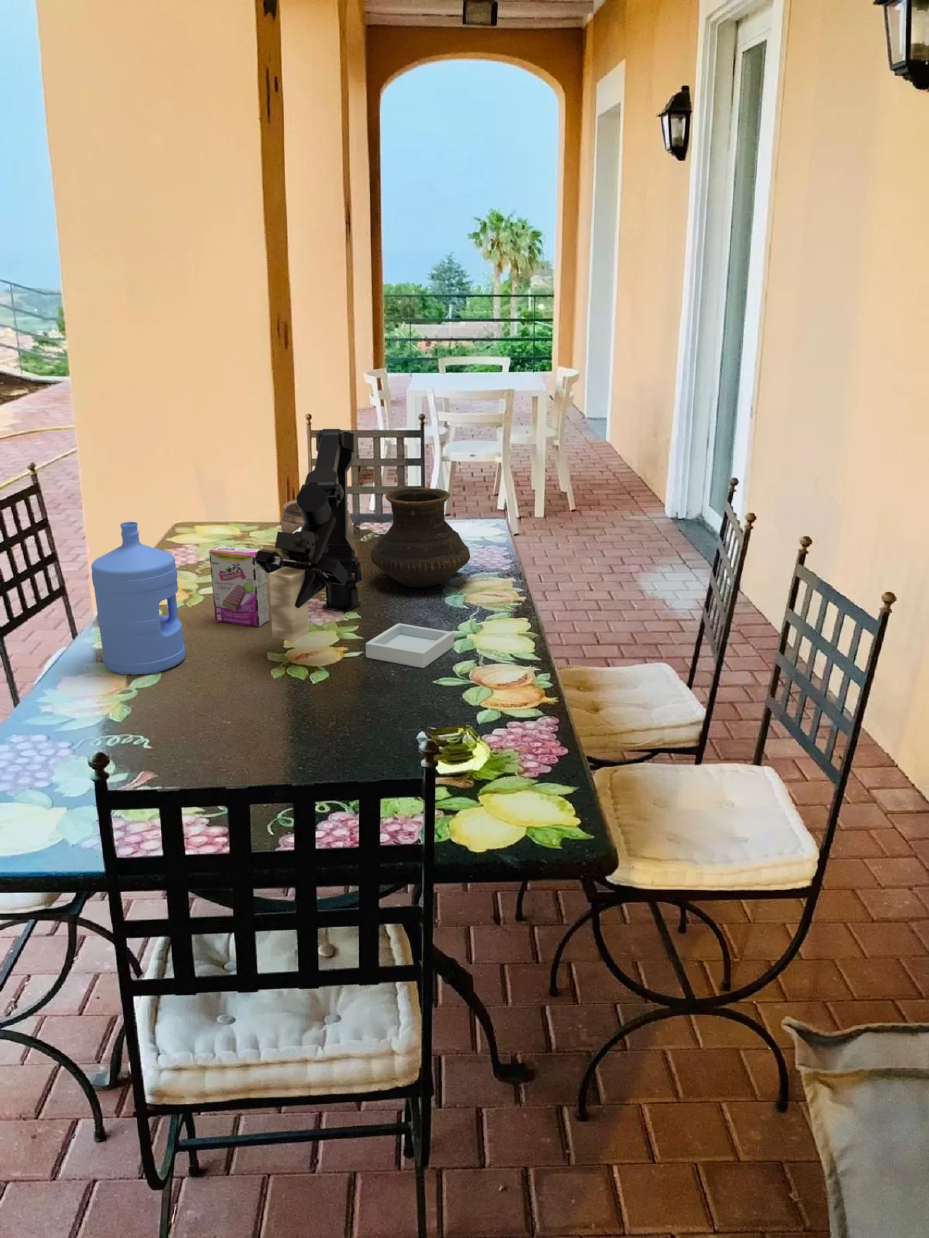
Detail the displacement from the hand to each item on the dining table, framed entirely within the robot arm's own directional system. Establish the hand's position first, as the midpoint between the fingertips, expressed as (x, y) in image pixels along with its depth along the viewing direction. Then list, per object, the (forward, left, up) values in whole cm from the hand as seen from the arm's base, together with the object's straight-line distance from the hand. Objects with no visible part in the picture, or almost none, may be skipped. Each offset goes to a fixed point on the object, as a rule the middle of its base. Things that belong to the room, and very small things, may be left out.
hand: (285, 605), depth 200 cm
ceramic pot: (-2, +57, -13) cm, 59 cm away
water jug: (-27, -11, -13) cm, 32 cm away
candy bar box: (-24, +16, -13) cm, 32 cm away
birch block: (0, +1, -7) cm, 7 cm away
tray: (+18, +16, -12) cm, 27 cm away
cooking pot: (-42, +72, -13) cm, 85 cm away
